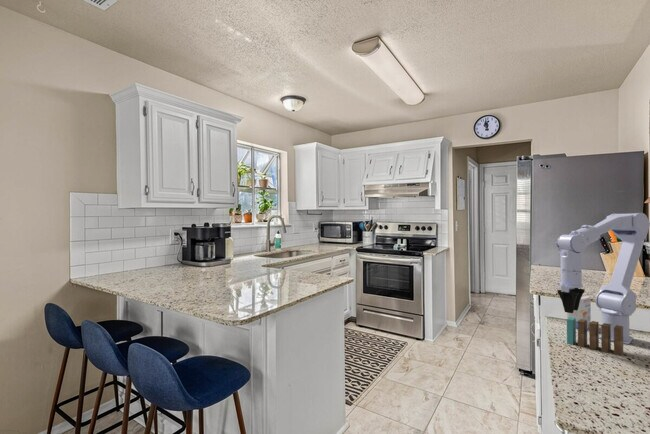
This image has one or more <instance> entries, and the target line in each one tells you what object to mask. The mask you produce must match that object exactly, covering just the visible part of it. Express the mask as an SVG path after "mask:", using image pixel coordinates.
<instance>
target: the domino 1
mask: <svg viewBox="0 0 650 434" xmlns="http://www.w3.org/2000/svg"><path fill="white" fill-rule="evenodd" d="M576 342H577V329H576V318H573V317H569V318H568V319H567V318H566V344H567V345H568V344H569V345H574V344H576Z"/></svg>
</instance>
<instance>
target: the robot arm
mask: <svg viewBox="0 0 650 434" xmlns="http://www.w3.org/2000/svg"><path fill="white" fill-rule="evenodd" d="M649 230H650V220H649V218H648V216H647V214H645V212H644V213H643V212H637V213H636V212H635V213H611V214H610V215H607V216H606V218H604V219H603V220H600V222H598V223H596V224H594V225H589V224H583V225H581V226H580V228H579V229H576V230H572V231H571V232H570V233H569V234H562V235H560V236H559V237H558V238H557V239H556V242H555V247H556V249H558V255H559V256H560V281H557V282H556V285H558V286H560V289H557V294H558V296H559V298H560V300H561V303H562V306H563V309H564V313H573V311H574V310H576V311H577V310H578V308H579V303H580V299H581V297H582V295H583V294H584V293H585V290H586V289H584V288H583V284H582V283H583V281H582V280H583V278H582V276H583V274H582V269H583V268H582V266H583V265H582V261H583V260H582V252H584V251H585V250H586V248H587V246H589V245H591V244H593V243H595V242H596V241H599V240H600V239H601V235H602V234H605V233H608V232H610V231H611V232H612V233H613V234H614V236H616V238H617V239H619V240H620V241H621V242H622V243H621V247H620V250H619V251H618V256H617V259H616V262H615V265H614V269H613V271H612V276H611V277H610V281H609V283H606V284H605V285H602V286H600V290H599V291H598V292H597V294H596V295H595V300H594V301H595V305H596V307H598V309H599V311H600V312H601V325H602V324H604V323H607V324H611V342H614V327H615V326H616V325H618V326H623V344H625V345H629V344H631V342H632V341H633V339H634V336H630V316H632V314H634V313H635V312H636V309H637V297H638V295H637V294H636V293H635V292H634V291H633V290H632V289H631V285H632V281H633V279H634V275H635V272H636V269H637V265H638V264H639V263H638V262H639V259H640V256H641V253H642V250H643V246H644V243H645V240H646V239H647V235H648V232H649ZM583 296H584V295H583ZM599 340H601V334H599Z"/></svg>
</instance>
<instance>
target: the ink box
mask: <svg viewBox="0 0 650 434" xmlns="http://www.w3.org/2000/svg"><path fill="white" fill-rule="evenodd" d="M591 299H592V297H591V296H590V295H589V296H588V295H582V297H581V299H580V303H579V308H578V310H577V311H576V310H574V311H573V313H567V312H566V313H567V316H566V317H567V318H566V320H567V319H568V318H569V317H573V318H576V328H578V321H579V320H580V319H584V320H587V327H588V328H589V323H590V322H592V320H591V317H592V316H591V315H592V314H591V312H592V311H591V309H592V308H591Z"/></svg>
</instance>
